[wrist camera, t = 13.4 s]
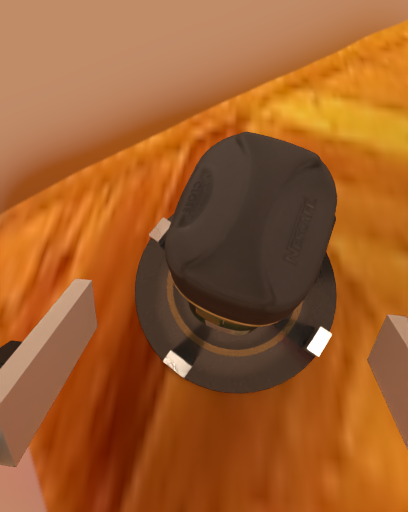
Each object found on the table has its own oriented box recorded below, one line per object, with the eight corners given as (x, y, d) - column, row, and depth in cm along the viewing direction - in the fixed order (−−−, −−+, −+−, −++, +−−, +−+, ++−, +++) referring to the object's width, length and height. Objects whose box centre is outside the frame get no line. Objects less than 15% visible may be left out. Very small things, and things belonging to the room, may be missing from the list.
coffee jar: (211, 229, 34) (212, 95, 16) (284, 254, 33) (371, 143, 15) (176, 316, 31) (130, 274, 14) (254, 346, 30) (314, 344, 13)
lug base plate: (366, 267, 34) (380, 260, 31) (260, 437, 30) (266, 447, 27) (212, 169, 38) (212, 154, 35) (99, 308, 33) (88, 305, 31)
